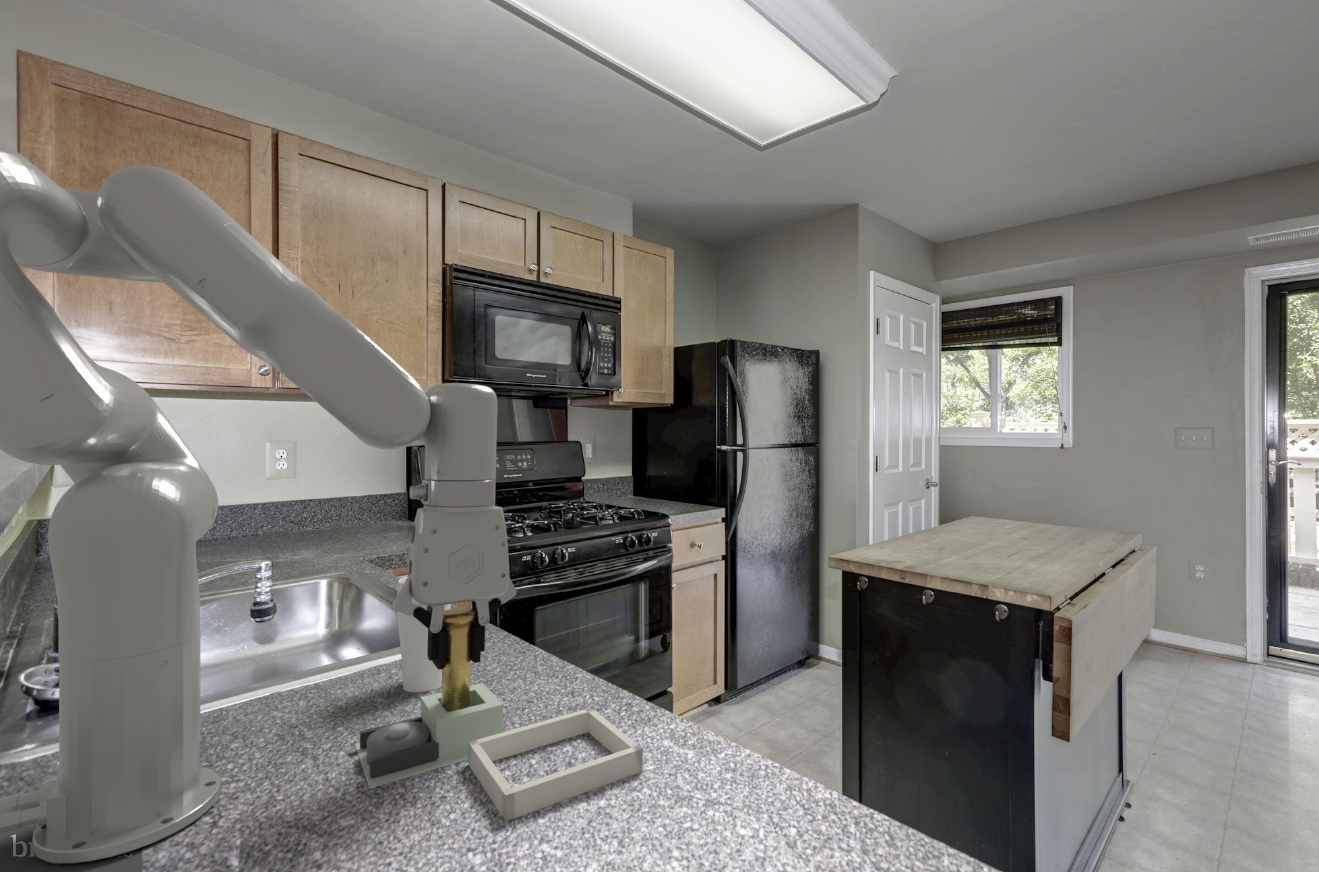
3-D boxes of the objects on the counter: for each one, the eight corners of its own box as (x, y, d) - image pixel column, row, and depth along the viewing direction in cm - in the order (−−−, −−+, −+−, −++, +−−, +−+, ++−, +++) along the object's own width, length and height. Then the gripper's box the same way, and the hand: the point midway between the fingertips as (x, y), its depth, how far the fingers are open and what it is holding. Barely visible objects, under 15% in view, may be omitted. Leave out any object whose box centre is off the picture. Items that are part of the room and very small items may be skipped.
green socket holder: (369, 796, 57) (369, 745, 57) (354, 751, 65) (354, 706, 65) (512, 753, 65) (512, 708, 65) (483, 717, 73) (483, 677, 73)
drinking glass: (432, 702, 77) (432, 585, 77) (386, 698, 79) (385, 583, 79) (460, 681, 84) (460, 573, 84) (416, 677, 85) (416, 571, 85)
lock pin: (442, 716, 64) (444, 619, 64) (433, 702, 67) (435, 611, 67) (478, 707, 66) (479, 614, 66) (468, 695, 69) (469, 606, 69)
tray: (505, 830, 52) (505, 795, 52) (468, 771, 61) (468, 742, 61) (642, 778, 60) (642, 748, 60) (591, 733, 69) (591, 707, 69)
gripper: (386, 501, 59) (381, 689, 59) (543, 496, 68) (539, 659, 68) (373, 495, 65) (369, 665, 65) (518, 491, 74) (515, 640, 74)
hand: (456, 660), depth 66 cm, fingers closed on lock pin, 3 cm apart
